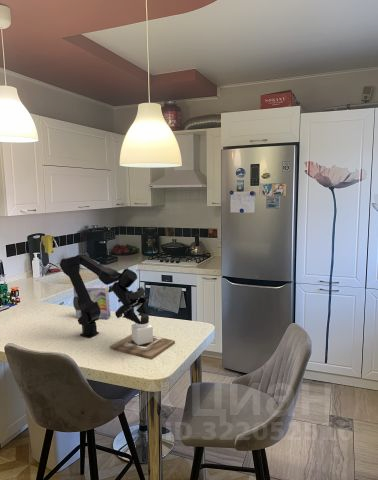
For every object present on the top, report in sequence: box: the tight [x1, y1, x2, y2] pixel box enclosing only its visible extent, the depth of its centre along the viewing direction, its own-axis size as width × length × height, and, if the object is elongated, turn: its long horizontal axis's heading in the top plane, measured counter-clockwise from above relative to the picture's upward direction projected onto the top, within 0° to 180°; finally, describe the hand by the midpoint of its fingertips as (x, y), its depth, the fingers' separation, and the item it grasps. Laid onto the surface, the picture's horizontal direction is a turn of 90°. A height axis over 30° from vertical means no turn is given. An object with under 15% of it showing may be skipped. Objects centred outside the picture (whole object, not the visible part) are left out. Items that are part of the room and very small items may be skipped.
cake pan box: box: [72, 284, 112, 320], centre depth 205 cm, size 19×5×18 cm, turn 81°
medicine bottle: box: [131, 313, 154, 345], centre depth 167 cm, size 7×7×12 cm
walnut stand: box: [109, 333, 176, 360], centre depth 168 cm, size 22×18×2 cm
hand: (144, 321), depth 166 cm, fingers closed on medicine bottle, 6 cm apart
